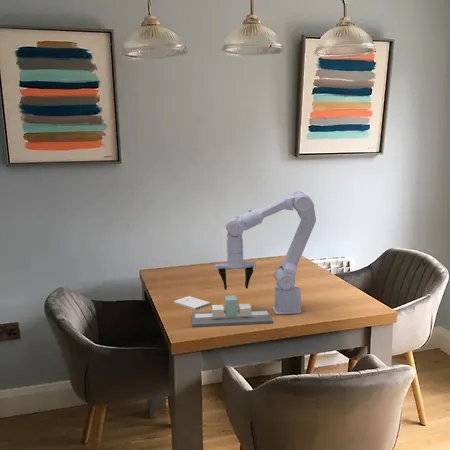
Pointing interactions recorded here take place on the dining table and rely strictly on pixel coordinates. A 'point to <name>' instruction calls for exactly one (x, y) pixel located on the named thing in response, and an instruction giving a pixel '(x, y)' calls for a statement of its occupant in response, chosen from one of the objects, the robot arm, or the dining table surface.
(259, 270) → the dining table surface
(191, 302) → the external hard drive
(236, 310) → the block
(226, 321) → the rail board
